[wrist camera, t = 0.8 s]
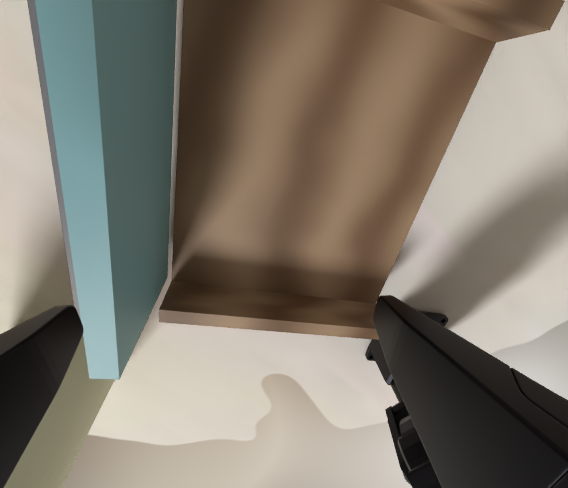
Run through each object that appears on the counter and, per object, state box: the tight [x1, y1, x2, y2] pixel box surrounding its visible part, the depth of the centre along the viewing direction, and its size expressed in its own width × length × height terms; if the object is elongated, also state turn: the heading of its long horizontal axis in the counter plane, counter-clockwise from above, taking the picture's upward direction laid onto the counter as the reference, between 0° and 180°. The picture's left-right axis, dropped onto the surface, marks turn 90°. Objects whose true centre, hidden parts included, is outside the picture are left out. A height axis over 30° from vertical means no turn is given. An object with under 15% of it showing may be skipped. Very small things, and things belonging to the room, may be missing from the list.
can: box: [4, 336, 115, 488], centre depth 19 cm, size 9×9×12 cm
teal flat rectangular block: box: [27, 0, 177, 380], centre depth 12 cm, size 2×17×8 cm, turn 168°
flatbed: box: [159, 0, 565, 340], centre depth 17 cm, size 16×20×5 cm
